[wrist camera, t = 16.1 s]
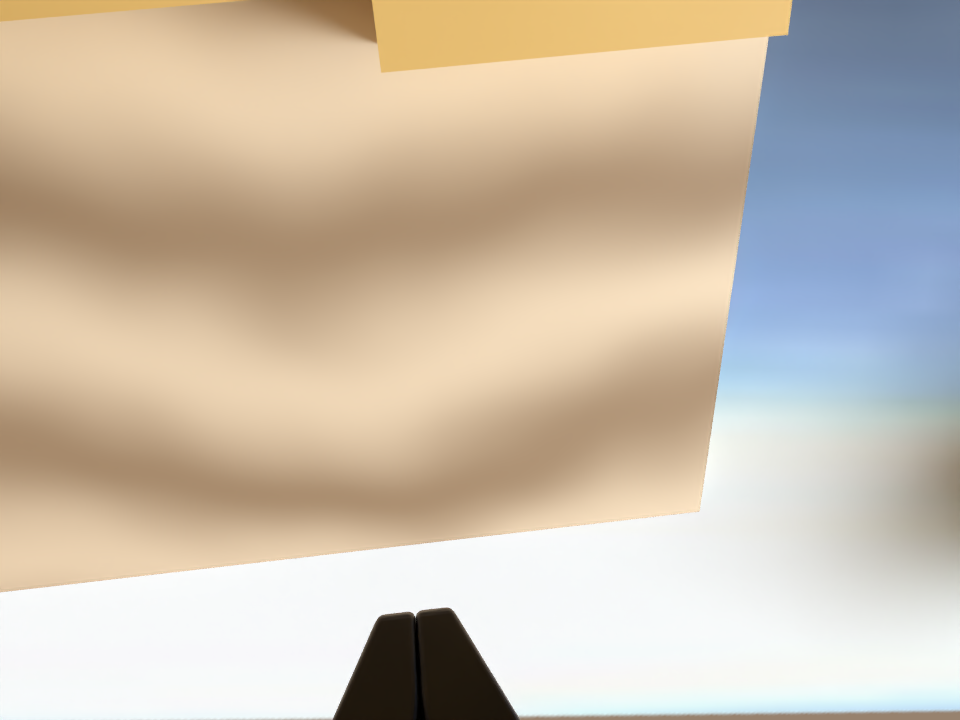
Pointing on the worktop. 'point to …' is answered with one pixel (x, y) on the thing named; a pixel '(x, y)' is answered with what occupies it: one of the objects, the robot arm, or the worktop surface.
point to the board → (350, 287)
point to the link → (506, 25)
